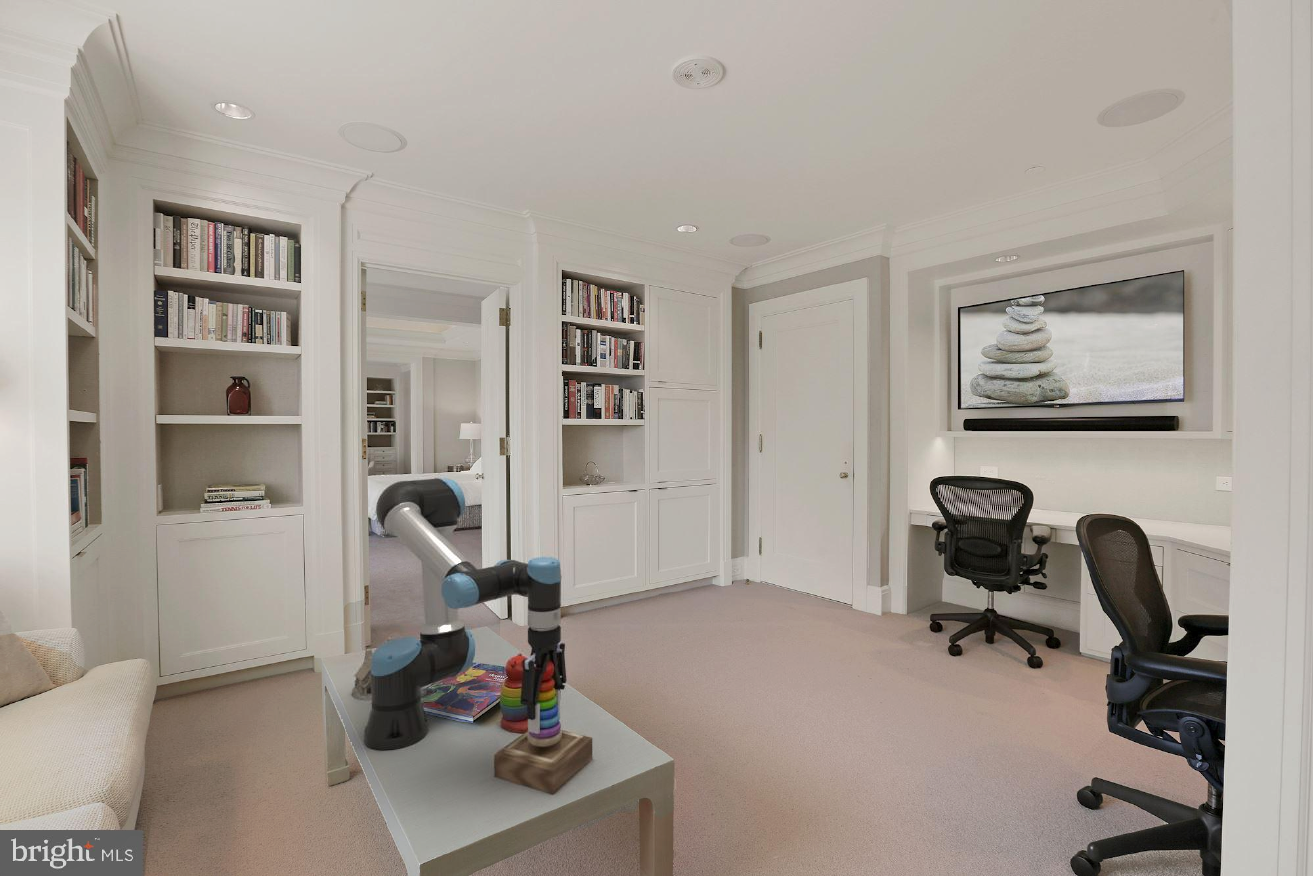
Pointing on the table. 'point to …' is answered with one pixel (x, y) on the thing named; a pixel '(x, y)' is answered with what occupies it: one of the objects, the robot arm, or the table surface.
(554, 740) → the stacking toy
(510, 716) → the stacking bear
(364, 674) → the ceramic cottage
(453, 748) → the table surface
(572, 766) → the plinth
